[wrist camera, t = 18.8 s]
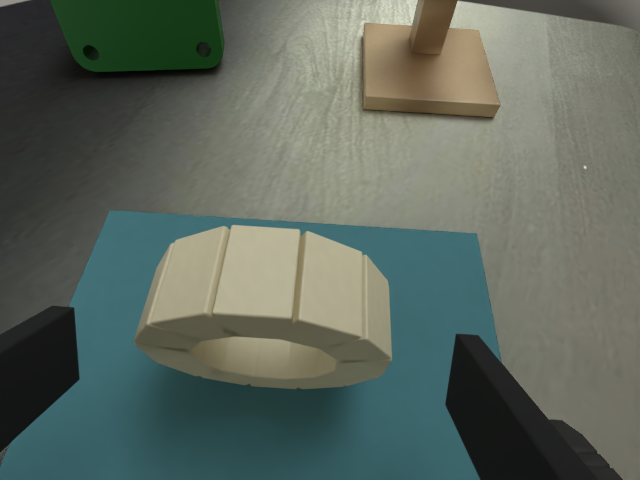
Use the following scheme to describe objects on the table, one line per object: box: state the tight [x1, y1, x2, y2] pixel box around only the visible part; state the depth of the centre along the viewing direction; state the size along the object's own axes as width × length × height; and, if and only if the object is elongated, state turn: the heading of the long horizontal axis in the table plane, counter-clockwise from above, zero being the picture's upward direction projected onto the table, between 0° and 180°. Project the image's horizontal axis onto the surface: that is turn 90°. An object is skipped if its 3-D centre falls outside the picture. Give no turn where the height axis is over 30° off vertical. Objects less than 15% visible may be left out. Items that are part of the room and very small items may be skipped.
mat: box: [0, 210, 502, 480], centre depth 19 cm, size 22×16×1 cm
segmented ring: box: [134, 225, 392, 389], centre depth 15 cm, size 9×3×9 cm, turn 87°
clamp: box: [50, 0, 224, 72], centre depth 31 cm, size 12×6×9 cm, turn 90°
